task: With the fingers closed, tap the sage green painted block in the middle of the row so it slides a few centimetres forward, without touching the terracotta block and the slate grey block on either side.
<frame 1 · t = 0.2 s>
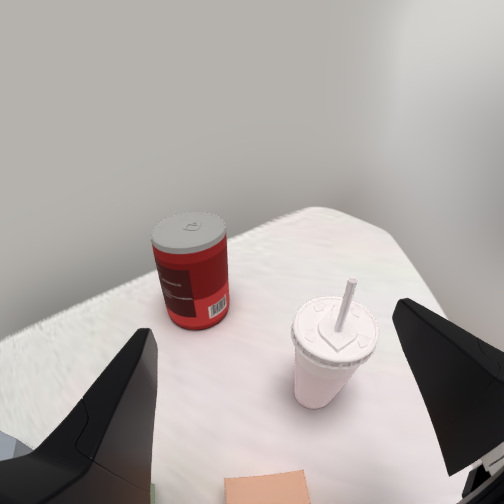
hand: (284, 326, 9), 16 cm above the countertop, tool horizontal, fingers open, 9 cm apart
canned food: (198, 309, 33), on the countertop
smoothie: (313, 393, 23), on the countertop
slate block: (26, 472, 11), on the countertop
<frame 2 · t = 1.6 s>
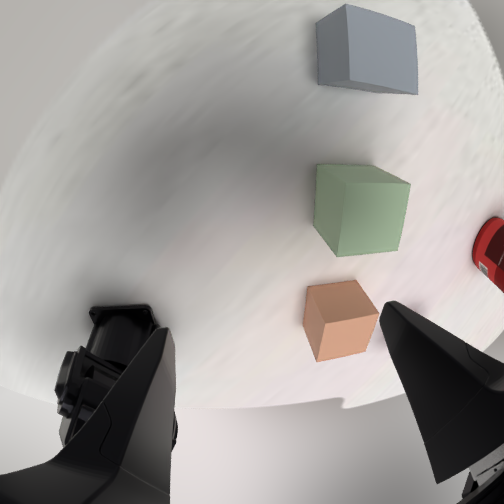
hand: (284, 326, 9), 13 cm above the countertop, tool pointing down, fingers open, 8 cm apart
canned food: (486, 241, 26), on the countertop
green block: (344, 194, 21), on the countertop
terracotta block: (328, 303, 26), on the countertop
slate block: (348, 57, 15), on the countertop
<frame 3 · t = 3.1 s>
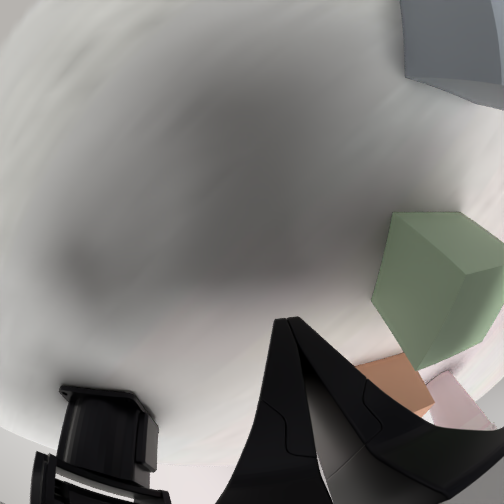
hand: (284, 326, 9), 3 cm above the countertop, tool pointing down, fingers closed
green block: (418, 255, 13), on the countertop
smoothie: (435, 380, 22), on the countertop
terracotta block: (368, 378, 18), on the countertop
slate block: (442, 43, 7), on the countertop
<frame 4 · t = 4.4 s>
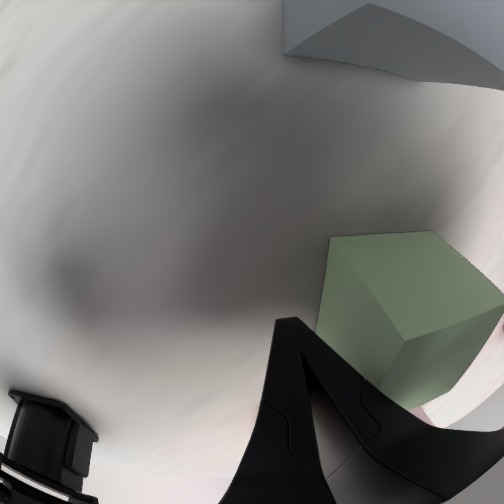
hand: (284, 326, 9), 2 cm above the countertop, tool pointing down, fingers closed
green block: (375, 285, 11), on the countertop, touching gripper
slate block: (356, 2, 5), on the countertop
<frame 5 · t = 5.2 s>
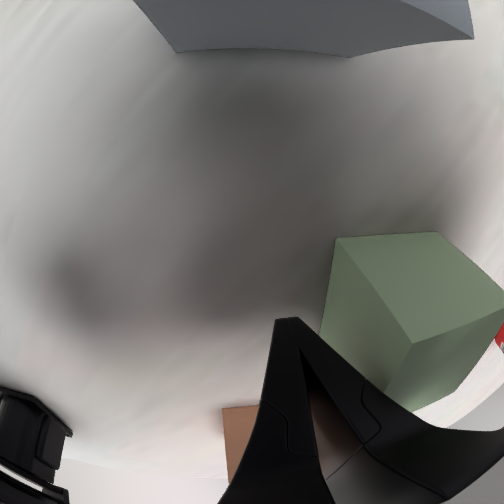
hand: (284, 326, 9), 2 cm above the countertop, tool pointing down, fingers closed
green block: (379, 286, 11), on the countertop, touching gripper
terracotta block: (263, 419, 16), on the countertop
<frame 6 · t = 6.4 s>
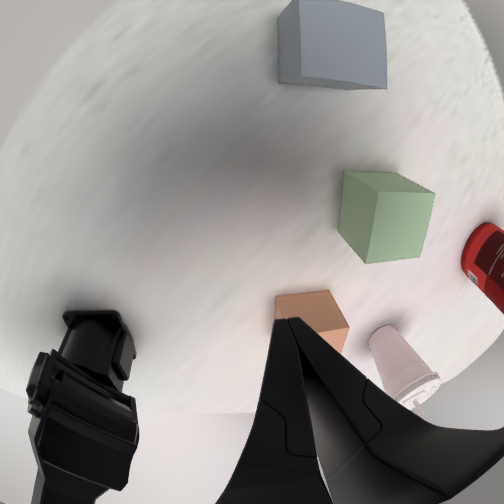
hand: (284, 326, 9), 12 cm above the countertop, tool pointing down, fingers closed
canned food: (478, 247, 25), on the countertop
green block: (367, 201, 20), on the countertop
smoothie: (380, 335, 30), on the countertop
terracotta block: (300, 313, 25), on the countertop
slate block: (314, 53, 14), on the countertop
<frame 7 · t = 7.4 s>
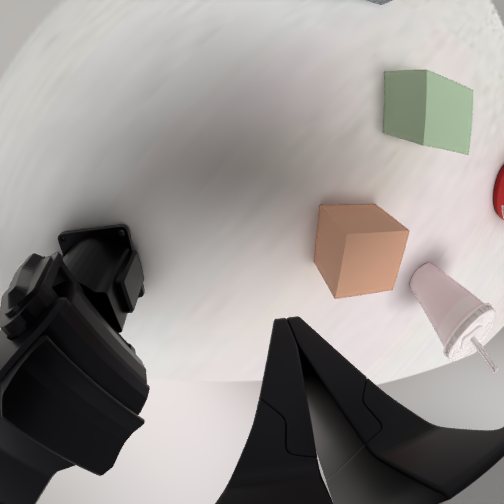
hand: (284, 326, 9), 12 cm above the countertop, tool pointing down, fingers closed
green block: (408, 107, 17), on the countertop
smoothie: (421, 276, 26), on the countertop
terracotta block: (344, 232, 22), on the countertop
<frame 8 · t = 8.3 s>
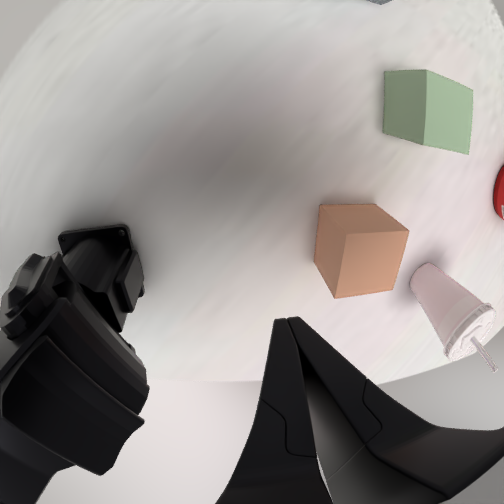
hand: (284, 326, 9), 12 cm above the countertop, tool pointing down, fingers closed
green block: (408, 107, 17), on the countertop
smoothie: (421, 276, 26), on the countertop
terracotta block: (344, 232, 22), on the countertop
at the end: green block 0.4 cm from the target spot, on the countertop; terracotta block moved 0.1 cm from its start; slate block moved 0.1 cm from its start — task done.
